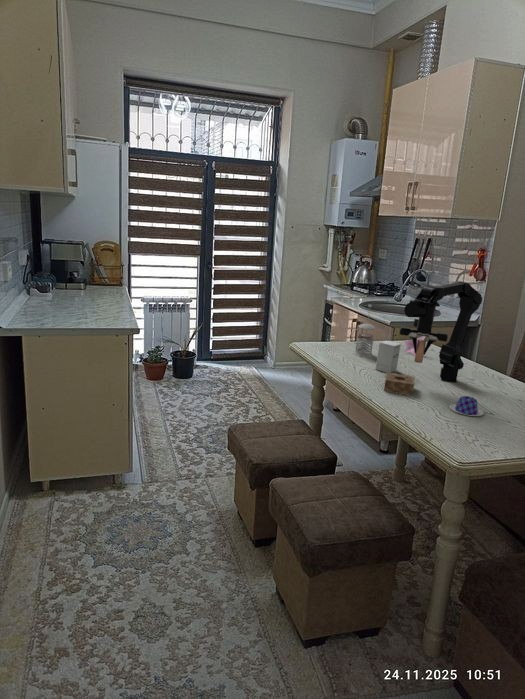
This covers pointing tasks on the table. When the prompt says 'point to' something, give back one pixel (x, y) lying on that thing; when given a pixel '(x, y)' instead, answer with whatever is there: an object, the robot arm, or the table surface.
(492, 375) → the table surface
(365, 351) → the french press
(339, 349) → the table surface
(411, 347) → the lily
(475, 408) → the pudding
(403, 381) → the bore block
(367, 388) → the table surface
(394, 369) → the supplement box
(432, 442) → the table surface
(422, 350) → the pin
